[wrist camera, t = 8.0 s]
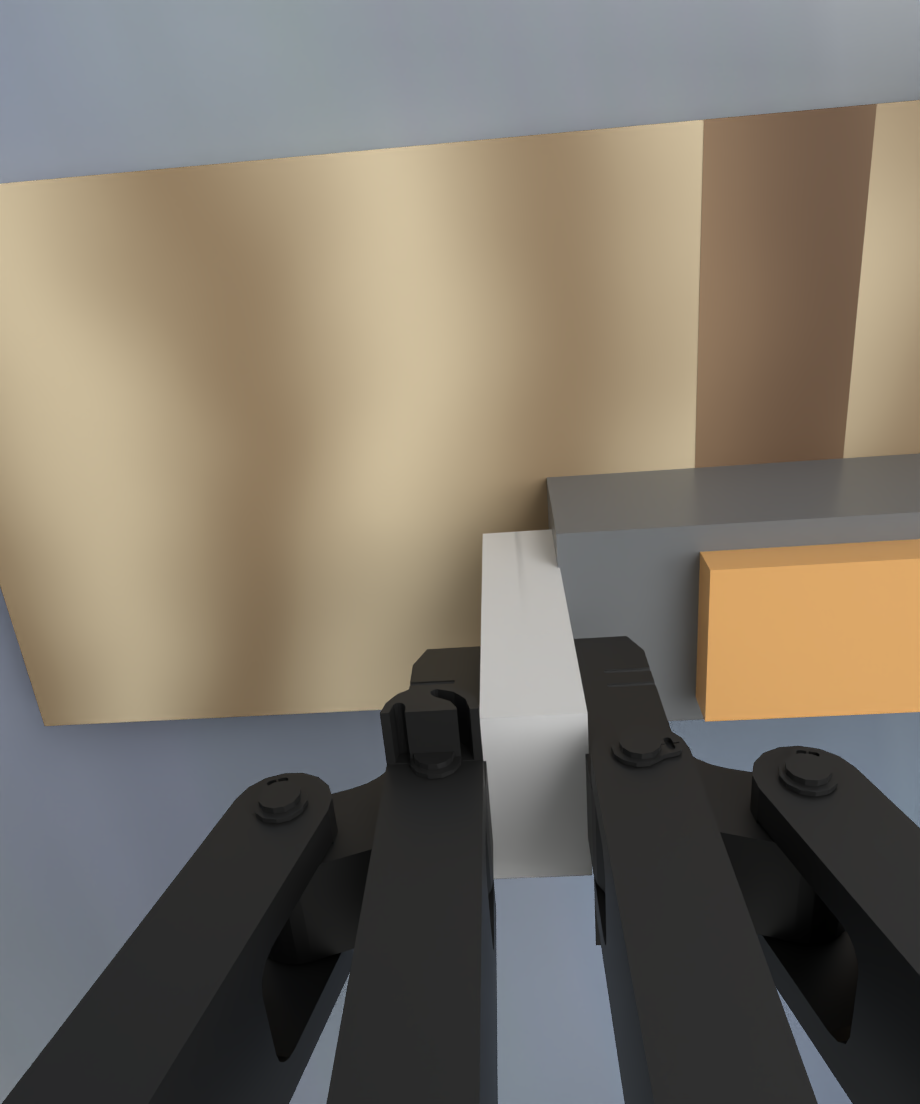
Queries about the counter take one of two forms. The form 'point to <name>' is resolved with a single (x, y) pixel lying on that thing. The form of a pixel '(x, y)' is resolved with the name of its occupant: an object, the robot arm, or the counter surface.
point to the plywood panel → (412, 381)
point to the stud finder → (753, 582)
